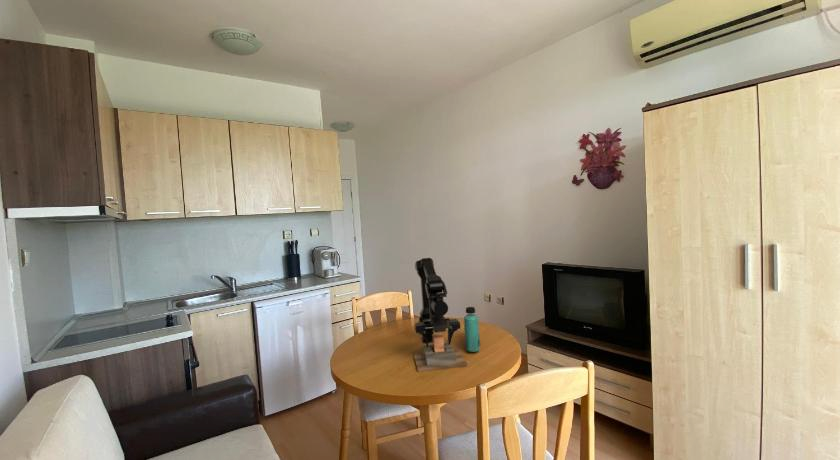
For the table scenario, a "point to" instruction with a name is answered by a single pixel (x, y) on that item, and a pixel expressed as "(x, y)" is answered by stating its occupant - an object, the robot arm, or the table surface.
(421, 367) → the socket board
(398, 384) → the table surface
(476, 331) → the beverage bottle
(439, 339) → the peg
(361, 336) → the table surface
